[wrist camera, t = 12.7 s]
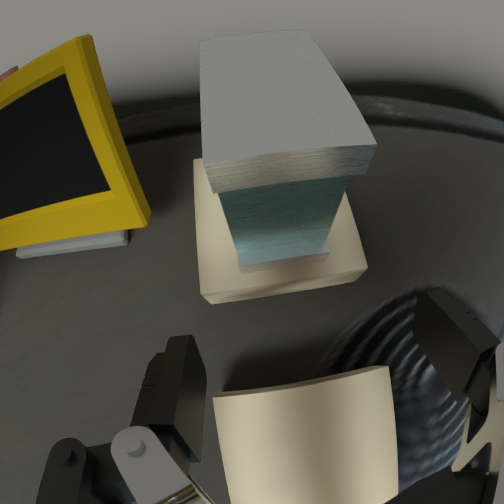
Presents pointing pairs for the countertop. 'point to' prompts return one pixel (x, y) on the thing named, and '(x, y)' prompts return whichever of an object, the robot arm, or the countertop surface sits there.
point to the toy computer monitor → (64, 158)
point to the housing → (278, 144)
